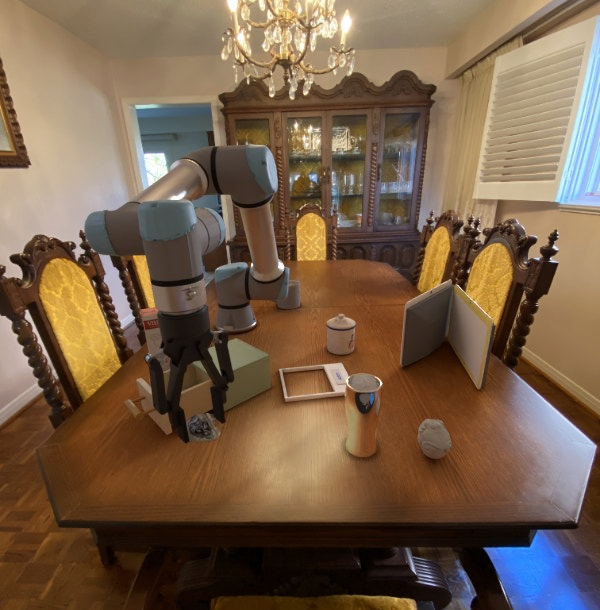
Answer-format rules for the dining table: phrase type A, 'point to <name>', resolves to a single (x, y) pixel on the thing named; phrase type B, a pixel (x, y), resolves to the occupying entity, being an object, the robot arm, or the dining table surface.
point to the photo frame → (334, 374)
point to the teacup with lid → (340, 335)
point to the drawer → (191, 400)
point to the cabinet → (243, 372)
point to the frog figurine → (434, 438)
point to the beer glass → (362, 413)
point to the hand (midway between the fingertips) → (202, 428)
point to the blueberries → (202, 428)
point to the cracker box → (153, 333)
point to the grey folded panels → (462, 329)
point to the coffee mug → (291, 296)
